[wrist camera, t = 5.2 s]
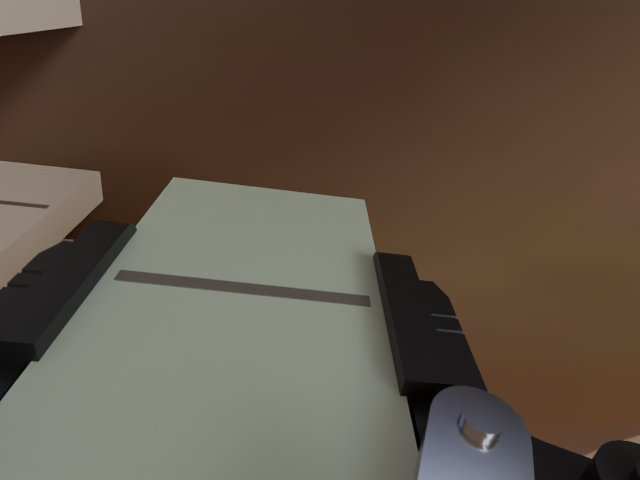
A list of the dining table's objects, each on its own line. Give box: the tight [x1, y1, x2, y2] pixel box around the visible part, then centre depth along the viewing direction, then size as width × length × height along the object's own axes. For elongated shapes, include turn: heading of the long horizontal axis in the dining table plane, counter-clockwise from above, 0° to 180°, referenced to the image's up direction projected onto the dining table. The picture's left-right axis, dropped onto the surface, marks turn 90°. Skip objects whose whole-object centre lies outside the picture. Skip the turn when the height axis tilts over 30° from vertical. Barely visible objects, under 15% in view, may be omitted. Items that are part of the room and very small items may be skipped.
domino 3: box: [0, 177, 418, 480], centre depth 8 cm, size 2×5×9 cm, turn 82°
